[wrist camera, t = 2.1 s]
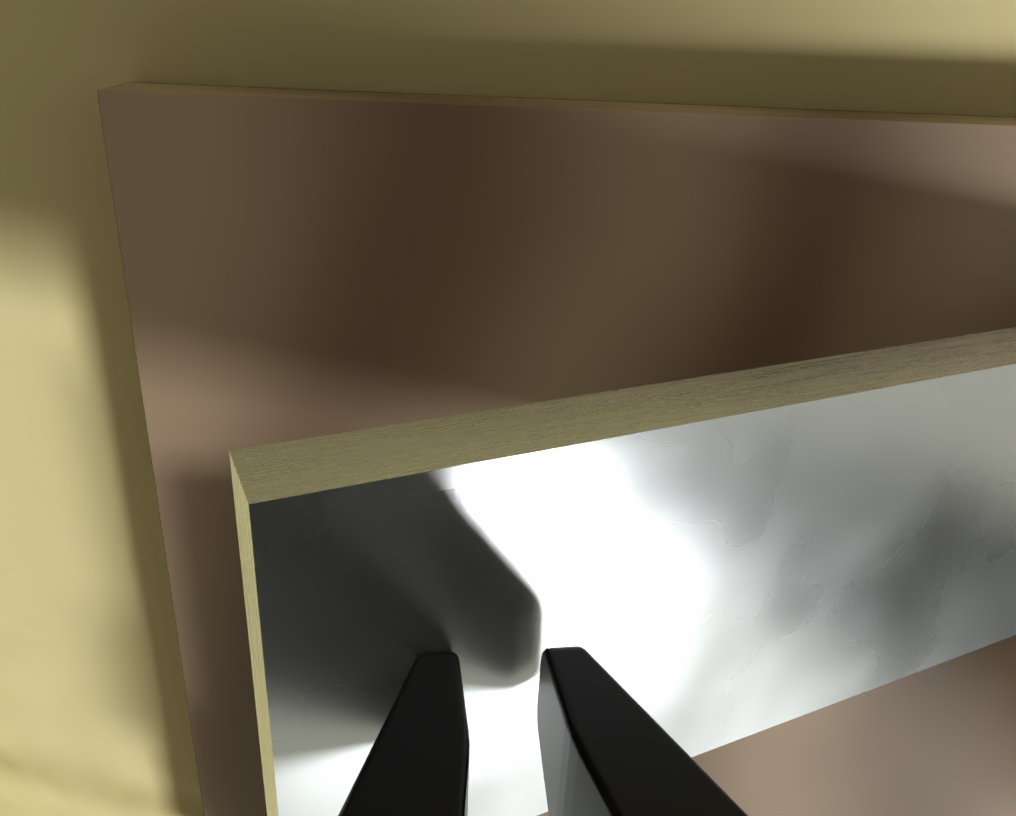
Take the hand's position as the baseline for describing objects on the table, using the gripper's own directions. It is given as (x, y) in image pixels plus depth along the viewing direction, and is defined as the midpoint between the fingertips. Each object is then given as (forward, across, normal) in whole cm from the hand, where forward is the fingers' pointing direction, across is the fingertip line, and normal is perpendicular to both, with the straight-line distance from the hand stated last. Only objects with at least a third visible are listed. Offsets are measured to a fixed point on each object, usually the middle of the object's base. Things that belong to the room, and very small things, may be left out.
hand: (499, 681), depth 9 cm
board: (+8, -5, +4) cm, 10 cm away
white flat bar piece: (+3, -5, 0) cm, 6 cm away
